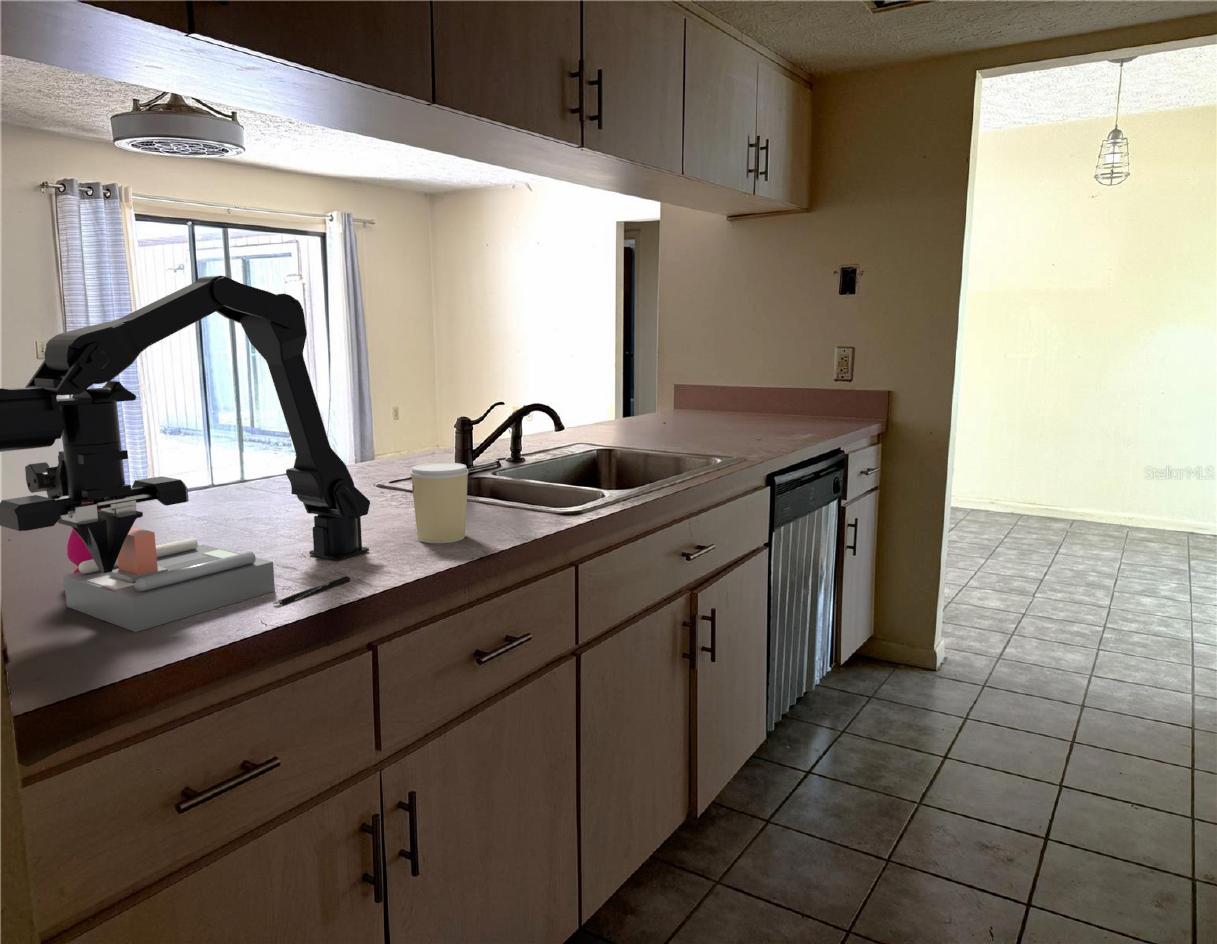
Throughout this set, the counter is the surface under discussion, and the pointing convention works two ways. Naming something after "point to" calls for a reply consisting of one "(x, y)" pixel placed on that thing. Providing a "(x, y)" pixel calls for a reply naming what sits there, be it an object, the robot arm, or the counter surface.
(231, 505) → the counter surface
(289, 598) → the black thin rod
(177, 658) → the counter surface
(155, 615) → the box
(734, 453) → the counter surface
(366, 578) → the counter surface
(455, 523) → the coffee cup
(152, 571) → the lever
